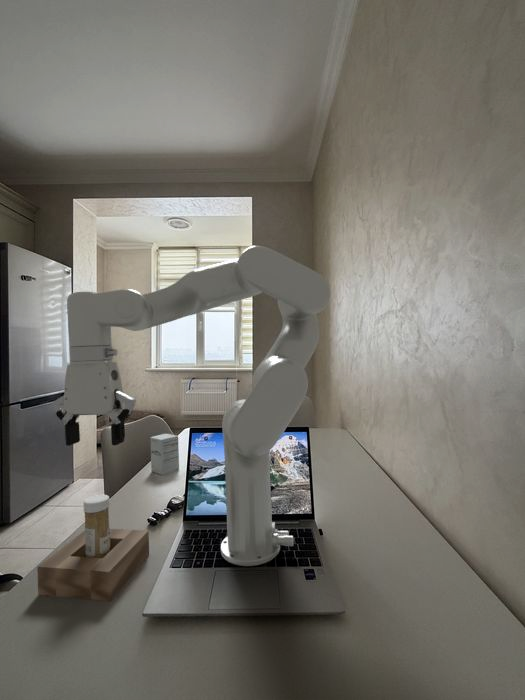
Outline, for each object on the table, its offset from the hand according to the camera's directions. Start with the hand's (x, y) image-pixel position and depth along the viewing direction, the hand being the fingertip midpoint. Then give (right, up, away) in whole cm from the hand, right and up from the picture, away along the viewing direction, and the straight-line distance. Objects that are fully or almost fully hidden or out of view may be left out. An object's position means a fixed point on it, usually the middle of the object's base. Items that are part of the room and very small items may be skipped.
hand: (95, 443), depth 69 cm
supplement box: (-3, -26, +59) cm, 65 cm away
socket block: (+1, -25, 0) cm, 25 cm away
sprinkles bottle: (+1, -24, 0) cm, 24 cm away
